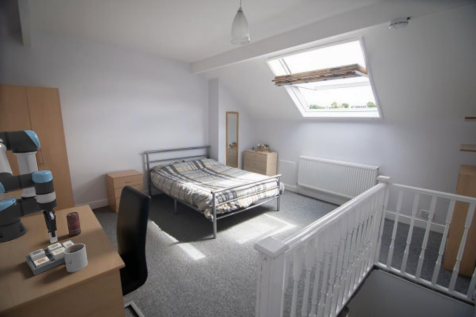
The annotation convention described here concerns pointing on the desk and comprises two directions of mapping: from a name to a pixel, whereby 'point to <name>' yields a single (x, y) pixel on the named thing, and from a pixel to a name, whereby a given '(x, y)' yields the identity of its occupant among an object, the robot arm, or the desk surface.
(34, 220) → the desk surface
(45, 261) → the key rust
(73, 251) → the mug
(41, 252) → the key slate
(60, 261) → the keypad
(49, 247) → the key olive
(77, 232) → the can
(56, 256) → the key sand
